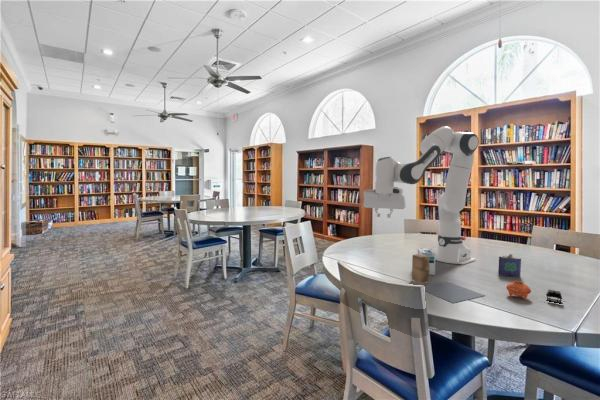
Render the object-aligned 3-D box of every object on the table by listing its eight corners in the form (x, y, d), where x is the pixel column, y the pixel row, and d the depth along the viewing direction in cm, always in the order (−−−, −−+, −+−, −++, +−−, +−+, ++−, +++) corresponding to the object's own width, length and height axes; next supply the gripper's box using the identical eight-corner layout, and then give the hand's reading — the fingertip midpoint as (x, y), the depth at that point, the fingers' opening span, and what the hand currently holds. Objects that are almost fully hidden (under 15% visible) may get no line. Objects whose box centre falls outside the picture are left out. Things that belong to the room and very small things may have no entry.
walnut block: (419, 279, 141) (420, 253, 140) (428, 282, 136) (429, 256, 136) (411, 280, 139) (412, 254, 138) (420, 284, 134) (421, 257, 134)
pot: (536, 298, 118) (535, 282, 117) (521, 305, 116) (520, 289, 115) (516, 290, 125) (515, 275, 124) (502, 297, 123) (500, 281, 122)
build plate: (533, 302, 117) (533, 290, 116) (532, 296, 122) (533, 285, 122) (576, 310, 109) (577, 298, 109) (574, 304, 115) (574, 292, 115)
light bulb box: (435, 275, 147) (436, 253, 146) (420, 274, 148) (421, 252, 147) (430, 268, 157) (431, 248, 156) (416, 268, 158) (417, 247, 158)
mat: (446, 281, 138) (446, 281, 138) (485, 295, 121) (485, 295, 121) (416, 287, 130) (416, 286, 130) (453, 303, 114) (453, 302, 114)
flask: (519, 275, 146) (520, 253, 146) (521, 277, 144) (523, 255, 143) (497, 273, 149) (498, 252, 148) (499, 275, 146) (500, 253, 145)
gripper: (362, 189, 152) (361, 217, 153) (405, 190, 144) (404, 219, 145) (364, 189, 158) (364, 215, 159) (406, 189, 150) (405, 217, 151)
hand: (383, 217), depth 152 cm, fingers open, 4 cm apart
